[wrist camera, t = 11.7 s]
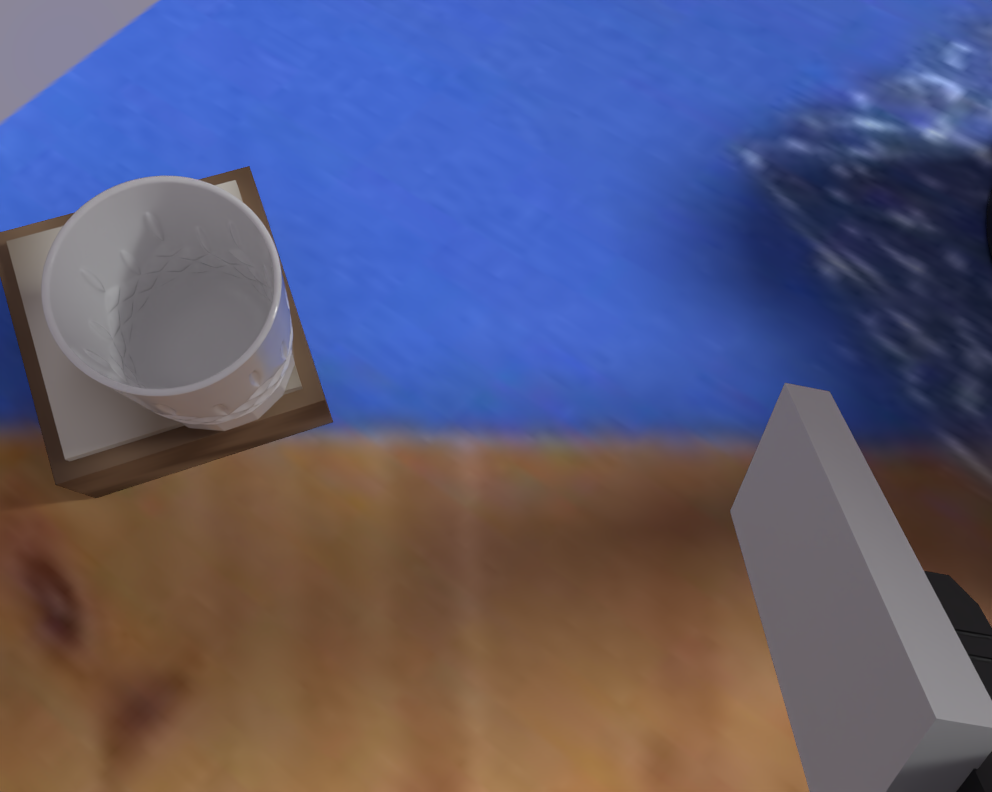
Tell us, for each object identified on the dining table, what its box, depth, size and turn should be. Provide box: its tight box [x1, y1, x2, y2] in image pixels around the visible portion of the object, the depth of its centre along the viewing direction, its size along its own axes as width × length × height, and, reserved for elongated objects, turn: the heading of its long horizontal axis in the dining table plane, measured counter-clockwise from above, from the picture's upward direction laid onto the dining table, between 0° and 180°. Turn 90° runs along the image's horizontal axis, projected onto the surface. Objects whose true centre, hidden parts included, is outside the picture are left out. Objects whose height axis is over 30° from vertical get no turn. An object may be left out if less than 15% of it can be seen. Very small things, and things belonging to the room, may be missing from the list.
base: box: [0, 166, 333, 498], centre depth 43 cm, size 12×12×6 cm
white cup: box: [41, 176, 295, 431], centre depth 36 cm, size 8×8×10 cm
